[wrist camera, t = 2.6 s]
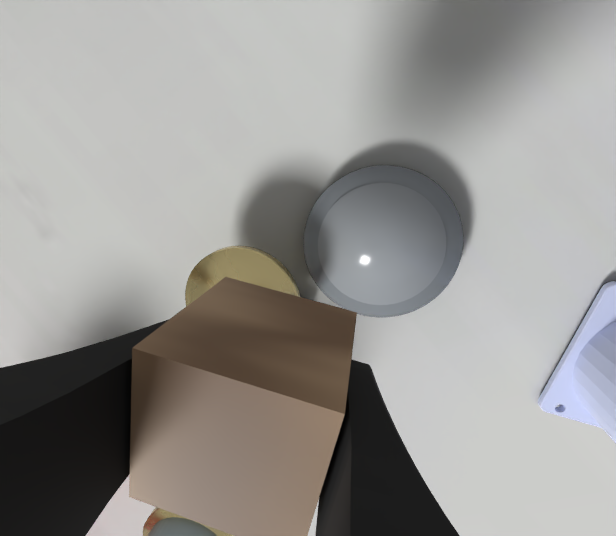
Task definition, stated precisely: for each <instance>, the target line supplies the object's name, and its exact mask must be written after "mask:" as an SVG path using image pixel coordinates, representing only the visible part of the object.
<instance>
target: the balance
mask: <svg viewBox="0 0 616 536" xmlns="http://www.w3.org/2000/svg"><path fill="white" fill-rule="evenodd" d="M225 277H228V278H232V279H236V280H239V281H243V282H247V283H250V284H254V285H258V286H261V287H265V288H269V289H272V290H276V291H280V292H283V293H287V294H291V295H294V296H298V297H300V293H299V290H298V287H297V285H296V282H295V280H294V279H293V277H292V275H291V274H290V273H289V271H288V270H287V269H286V268H285V267H284V266H283V265H282V263H280V262H279V261H278V260H277V259H276V258H274V257H273V256H271V255H269V254H268V253H266V252H263V251H261V250H259V249H255V248H252V247H247V246H230V247H226V248H222V249H220V250H217V251H215V252H213V253H212V254H210V255H208V256H206V257H205V258H204V259H202V260H201V261H200V262H199V263H198V264H197V265H196V266H195V267H194V269H193V270H192V272H191V274H190V276H189V278H188V281H187V285H186V291H185V300H186V307H187V306H188V305H189V304H191V303H192V302H193V301H194V300H196V299H197V298H198V297H200V296H201V295H202V294H204V293H205V292H206V291H208V290H209V289H210V288H212V287H213V286H214V285H215V284H217V283H218V282H219V281H221V280H222V279H223V278H225ZM171 517H178V518H185V517H182V516H180V515H177V514H174V513H171V512H169V511H166V510H163V509H161V508H158V507H156V508H155V509H154V510H153V512H152V513H151V515H150V516H149V518H148V519H147V521H146V523H145V525H144V527H143V536H148V534H149V533H150V531H151V529H152V528H153V526H154V525H155V524H156V523H157V522H158V521H160V520H162V519H165V518H171ZM185 519H188V518H185ZM189 520H190V519H189ZM192 521H193V520H192ZM195 522H196V521H195ZM197 523H198V522H197ZM199 524H201V523H199ZM201 525H203V526H205V527H207V528H208V529H210V530H211V531H212V532H214V533H215V534H216V535H217V536H234V535H231V534H228V533H225V532H223V531H220V530H217V529H215V528H212V527H209V526H207V525H204V524H201Z"/></svg>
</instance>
